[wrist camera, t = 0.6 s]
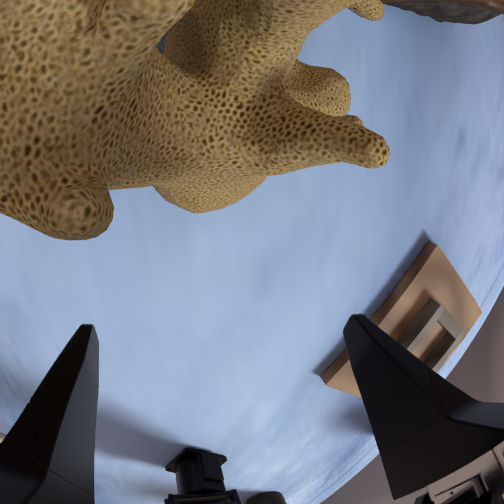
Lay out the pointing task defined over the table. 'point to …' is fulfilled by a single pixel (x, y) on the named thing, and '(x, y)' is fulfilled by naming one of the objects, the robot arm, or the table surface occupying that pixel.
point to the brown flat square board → (419, 316)
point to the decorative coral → (164, 104)
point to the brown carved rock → (452, 9)
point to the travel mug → (267, 498)
